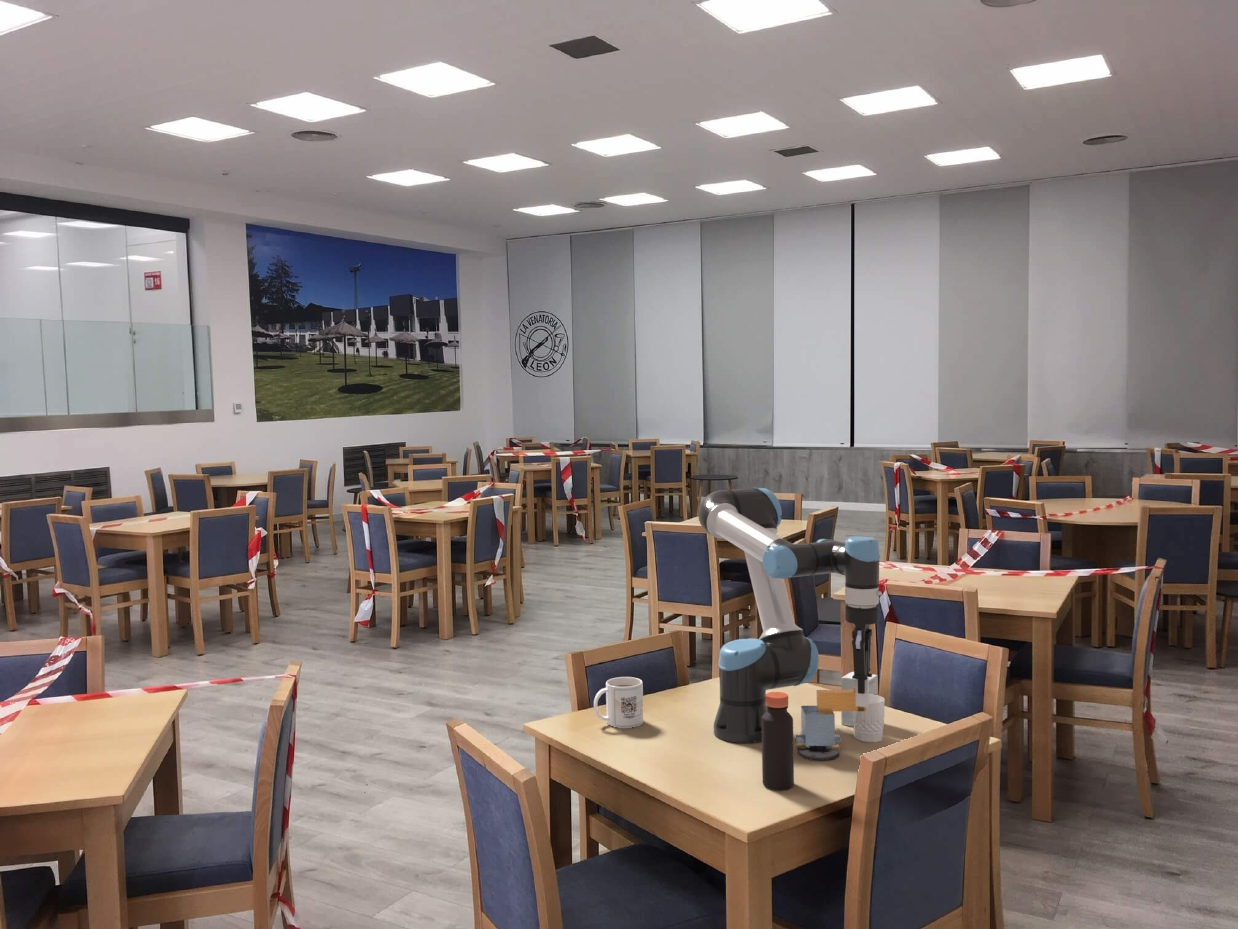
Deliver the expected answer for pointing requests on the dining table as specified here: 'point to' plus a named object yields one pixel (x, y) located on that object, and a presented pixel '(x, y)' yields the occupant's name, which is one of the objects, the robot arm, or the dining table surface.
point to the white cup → (870, 720)
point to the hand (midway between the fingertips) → (862, 705)
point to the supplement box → (849, 684)
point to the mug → (622, 702)
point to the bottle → (777, 743)
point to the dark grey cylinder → (818, 752)
